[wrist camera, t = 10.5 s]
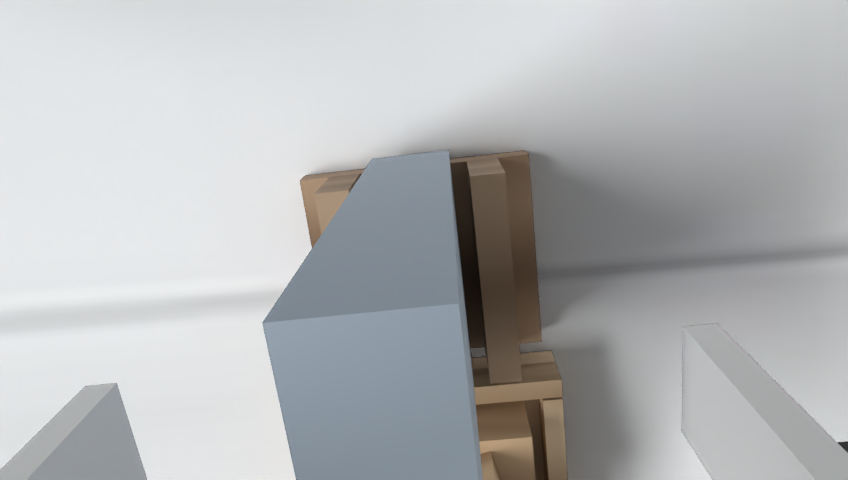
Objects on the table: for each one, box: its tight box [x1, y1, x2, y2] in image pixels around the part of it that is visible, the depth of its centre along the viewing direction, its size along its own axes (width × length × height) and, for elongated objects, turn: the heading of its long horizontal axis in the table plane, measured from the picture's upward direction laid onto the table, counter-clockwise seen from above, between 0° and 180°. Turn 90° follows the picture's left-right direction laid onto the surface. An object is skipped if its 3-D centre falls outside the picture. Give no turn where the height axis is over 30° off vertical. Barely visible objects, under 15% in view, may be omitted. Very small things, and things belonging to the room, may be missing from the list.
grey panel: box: [263, 150, 483, 480], centre depth 18 cm, size 9×3×15 cm, turn 7°
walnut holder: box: [300, 150, 542, 384], centre depth 24 cm, size 8×9×4 cm
